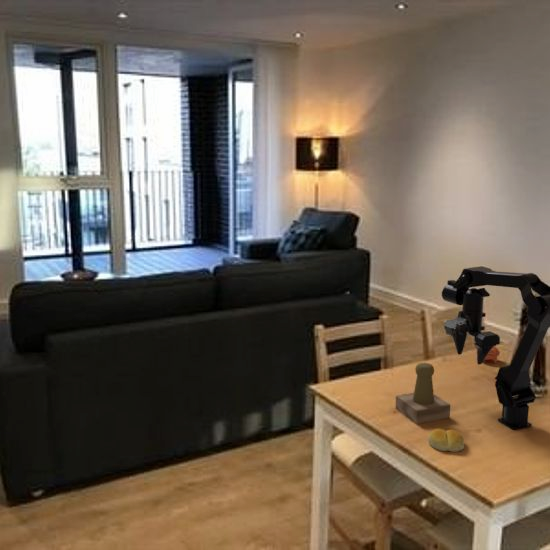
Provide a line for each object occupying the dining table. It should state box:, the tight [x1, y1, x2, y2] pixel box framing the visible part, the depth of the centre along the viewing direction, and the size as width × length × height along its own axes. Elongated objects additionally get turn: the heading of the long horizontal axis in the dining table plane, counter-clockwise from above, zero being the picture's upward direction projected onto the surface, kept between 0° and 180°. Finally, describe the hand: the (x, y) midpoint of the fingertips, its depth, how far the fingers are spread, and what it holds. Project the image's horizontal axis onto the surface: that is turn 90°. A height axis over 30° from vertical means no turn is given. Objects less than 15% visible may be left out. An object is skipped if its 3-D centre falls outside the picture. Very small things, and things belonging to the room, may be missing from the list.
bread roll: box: [427, 428, 465, 453], centre depth 153 cm, size 8×9×4 cm
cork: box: [413, 362, 435, 405], centre depth 170 cm, size 6×6×11 cm
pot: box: [476, 346, 501, 364], centre depth 214 cm, size 8×8×7 cm
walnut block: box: [395, 392, 451, 425], centre depth 172 cm, size 11×11×4 cm
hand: (469, 359), depth 178 cm, fingers open, 9 cm apart
